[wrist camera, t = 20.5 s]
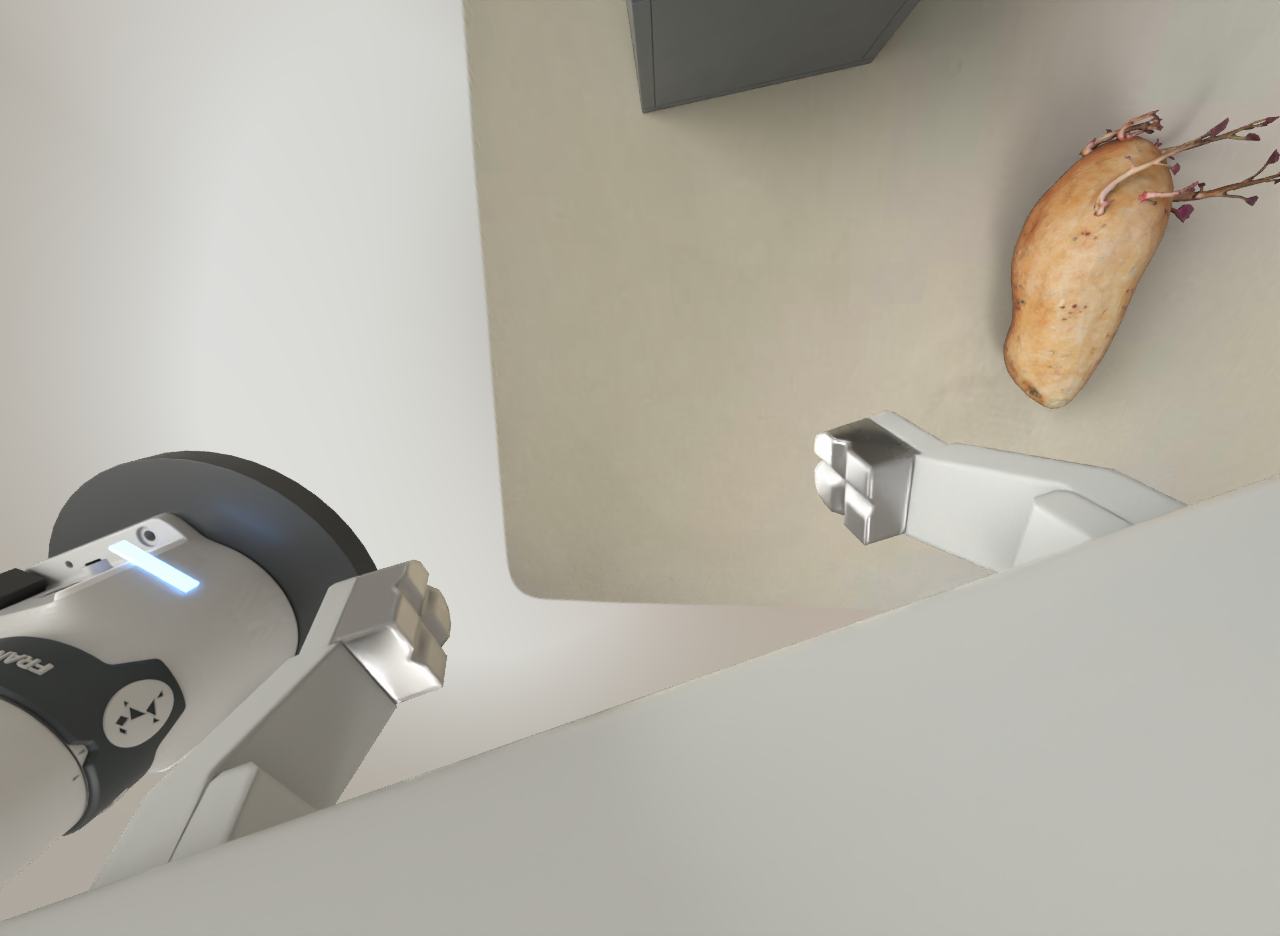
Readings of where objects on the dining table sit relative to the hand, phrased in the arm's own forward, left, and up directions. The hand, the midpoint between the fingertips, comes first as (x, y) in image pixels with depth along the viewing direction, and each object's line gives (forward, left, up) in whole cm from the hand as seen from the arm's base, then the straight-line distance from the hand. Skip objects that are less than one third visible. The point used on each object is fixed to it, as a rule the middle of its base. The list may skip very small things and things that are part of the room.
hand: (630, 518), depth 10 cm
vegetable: (+28, +2, -26) cm, 38 cm away
